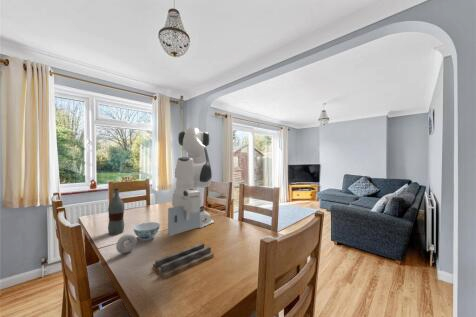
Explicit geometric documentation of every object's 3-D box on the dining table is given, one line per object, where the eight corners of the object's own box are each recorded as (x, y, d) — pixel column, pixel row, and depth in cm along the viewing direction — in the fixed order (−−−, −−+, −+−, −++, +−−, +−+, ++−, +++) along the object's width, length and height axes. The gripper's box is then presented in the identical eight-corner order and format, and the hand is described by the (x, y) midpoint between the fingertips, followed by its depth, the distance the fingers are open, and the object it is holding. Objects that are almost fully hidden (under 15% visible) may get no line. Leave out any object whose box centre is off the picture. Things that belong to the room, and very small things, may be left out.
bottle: (123, 229, 138) (124, 187, 138) (124, 233, 131) (124, 188, 131) (108, 232, 133) (108, 188, 133) (107, 236, 126) (108, 189, 126)
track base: (200, 248, 109) (200, 241, 109) (213, 256, 100) (213, 248, 101) (152, 267, 90) (152, 258, 90) (164, 278, 82) (164, 269, 82)
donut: (117, 257, 99) (117, 237, 99) (115, 255, 101) (115, 236, 101) (137, 250, 107) (137, 232, 107) (134, 248, 109) (135, 230, 109)
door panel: (197, 225, 102) (197, 202, 102) (200, 227, 100) (200, 203, 100) (168, 234, 91) (168, 208, 91) (171, 235, 88) (171, 209, 88)
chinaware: (149, 244, 114) (149, 231, 114) (127, 242, 117) (127, 229, 117) (164, 234, 129) (164, 223, 129) (144, 232, 132) (144, 221, 132)
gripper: (168, 188, 100) (168, 215, 100) (190, 193, 86) (190, 225, 86) (180, 187, 105) (180, 213, 105) (202, 192, 91) (202, 221, 91)
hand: (185, 218), depth 95 cm, fingers closed on door panel, 2 cm apart
